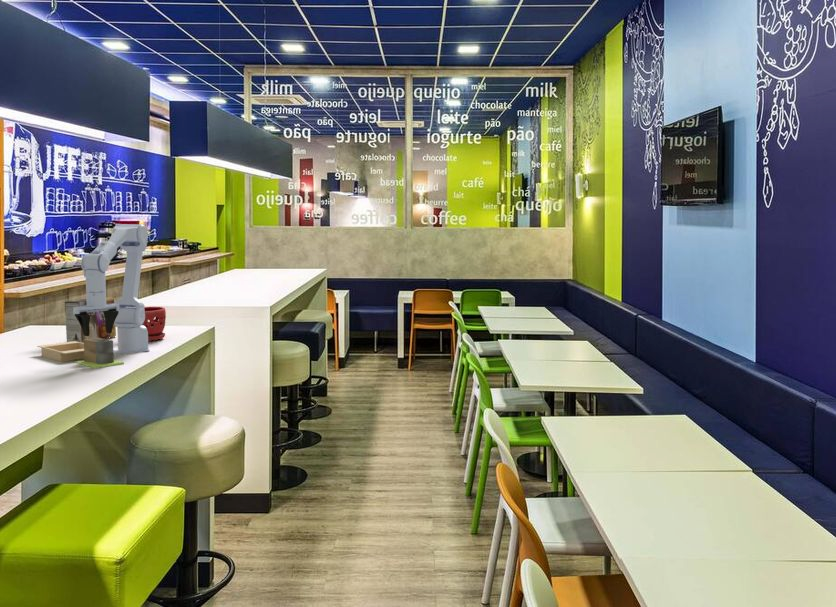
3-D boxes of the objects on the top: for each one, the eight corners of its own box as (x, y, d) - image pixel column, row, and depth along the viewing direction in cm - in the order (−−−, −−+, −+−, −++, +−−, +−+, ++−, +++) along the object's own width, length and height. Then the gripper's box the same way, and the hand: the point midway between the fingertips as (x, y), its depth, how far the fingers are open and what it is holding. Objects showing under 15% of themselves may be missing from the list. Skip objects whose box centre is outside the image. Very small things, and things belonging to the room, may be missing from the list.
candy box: (110, 336, 287) (109, 297, 285) (116, 337, 284) (115, 298, 282) (88, 339, 280) (86, 299, 278) (94, 340, 277) (92, 300, 276)
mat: (104, 358, 243) (104, 357, 243) (123, 363, 235) (123, 361, 235) (74, 363, 235) (74, 361, 235) (93, 368, 227) (93, 366, 227)
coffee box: (82, 341, 275) (80, 298, 273) (97, 342, 274) (96, 299, 272) (66, 345, 266) (64, 301, 264) (81, 346, 265) (80, 301, 263)
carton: (75, 351, 256) (75, 341, 255) (104, 358, 244) (103, 347, 243) (37, 356, 246) (37, 345, 245) (65, 364, 234) (64, 353, 233)
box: (97, 358, 239) (96, 337, 239) (113, 362, 234) (113, 340, 234) (84, 361, 236) (83, 339, 235) (100, 364, 231) (99, 342, 230)
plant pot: (145, 336, 289) (144, 305, 287) (173, 338, 284) (172, 307, 283) (121, 341, 277) (120, 309, 275) (150, 343, 272) (149, 311, 271)
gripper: (110, 289, 241) (111, 330, 243) (67, 292, 229) (68, 335, 231) (122, 290, 237) (124, 332, 239) (79, 294, 225) (81, 338, 227)
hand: (97, 334), depth 234 cm, fingers open, 7 cm apart
